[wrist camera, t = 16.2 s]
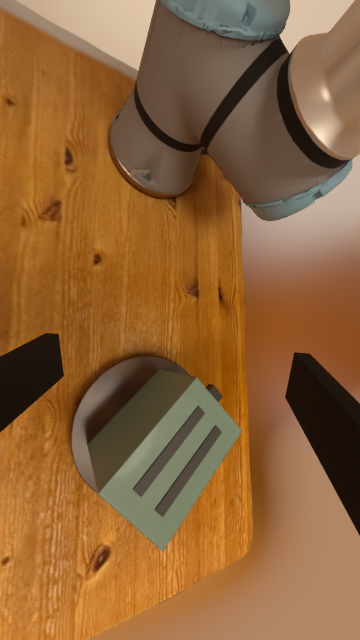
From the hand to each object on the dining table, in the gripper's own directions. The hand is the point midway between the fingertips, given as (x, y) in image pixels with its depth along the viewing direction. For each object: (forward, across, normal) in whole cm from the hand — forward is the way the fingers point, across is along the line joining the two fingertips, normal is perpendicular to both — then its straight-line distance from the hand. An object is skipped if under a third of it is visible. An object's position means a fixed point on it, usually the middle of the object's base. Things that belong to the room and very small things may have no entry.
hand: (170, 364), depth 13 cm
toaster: (+15, -6, -18) cm, 24 cm away
